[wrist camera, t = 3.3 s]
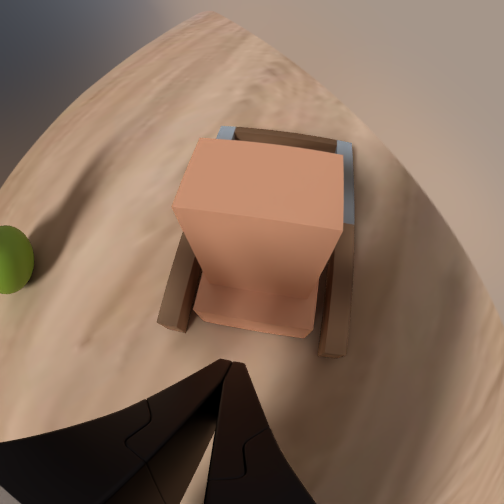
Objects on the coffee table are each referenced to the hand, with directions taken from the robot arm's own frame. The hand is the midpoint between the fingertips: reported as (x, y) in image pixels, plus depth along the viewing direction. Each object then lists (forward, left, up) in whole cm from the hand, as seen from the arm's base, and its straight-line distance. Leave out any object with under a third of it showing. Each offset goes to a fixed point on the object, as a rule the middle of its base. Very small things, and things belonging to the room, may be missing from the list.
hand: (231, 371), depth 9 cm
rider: (+5, -2, -8) cm, 9 cm away
